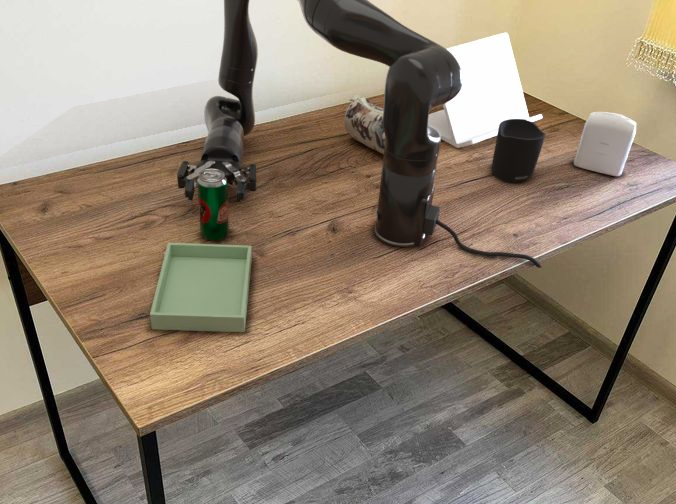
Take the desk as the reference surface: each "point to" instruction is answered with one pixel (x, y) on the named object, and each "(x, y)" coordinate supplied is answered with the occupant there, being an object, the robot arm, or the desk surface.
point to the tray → (202, 288)
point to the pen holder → (517, 150)
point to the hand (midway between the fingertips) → (214, 196)
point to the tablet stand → (482, 93)
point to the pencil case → (365, 123)
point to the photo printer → (605, 143)
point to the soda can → (213, 204)
